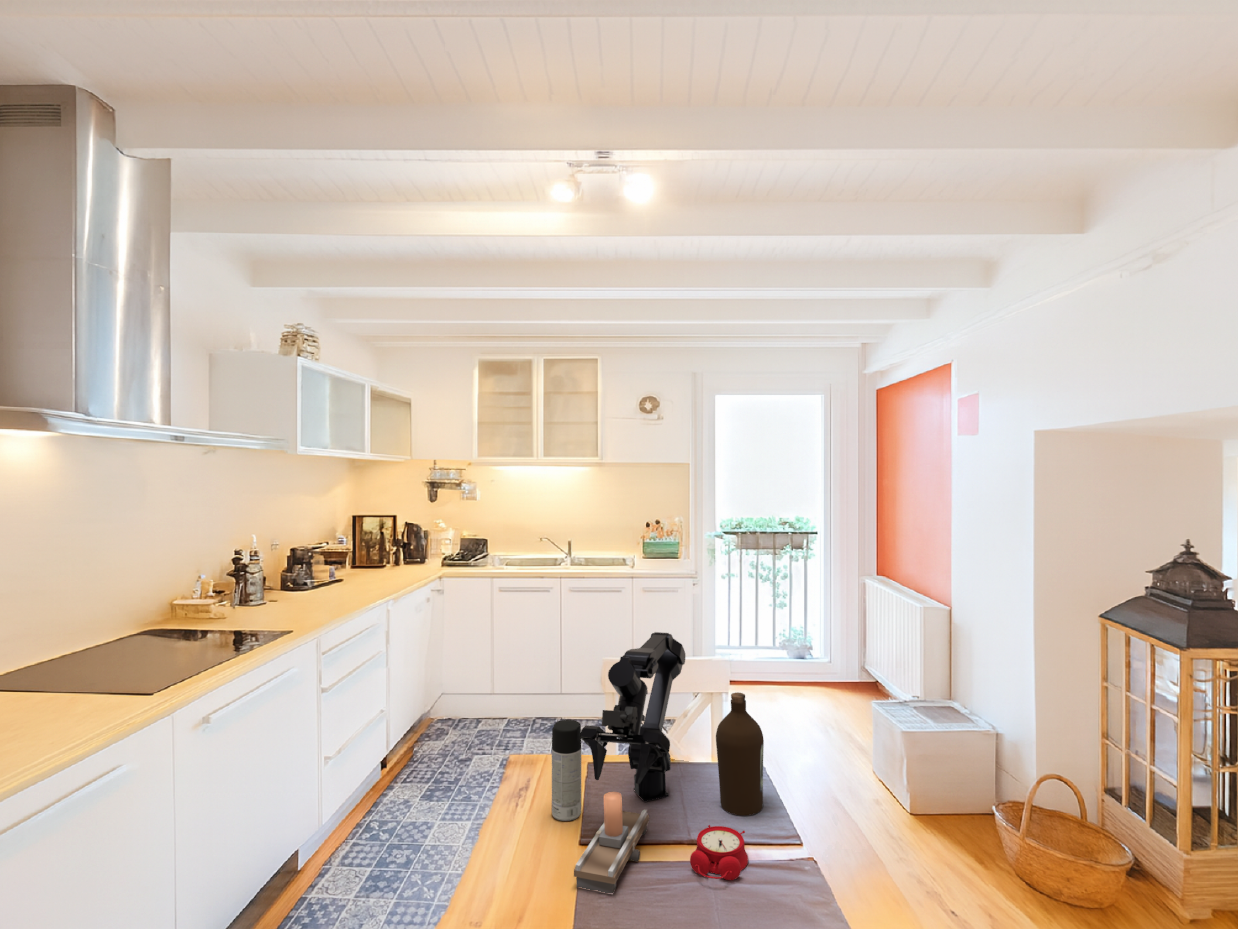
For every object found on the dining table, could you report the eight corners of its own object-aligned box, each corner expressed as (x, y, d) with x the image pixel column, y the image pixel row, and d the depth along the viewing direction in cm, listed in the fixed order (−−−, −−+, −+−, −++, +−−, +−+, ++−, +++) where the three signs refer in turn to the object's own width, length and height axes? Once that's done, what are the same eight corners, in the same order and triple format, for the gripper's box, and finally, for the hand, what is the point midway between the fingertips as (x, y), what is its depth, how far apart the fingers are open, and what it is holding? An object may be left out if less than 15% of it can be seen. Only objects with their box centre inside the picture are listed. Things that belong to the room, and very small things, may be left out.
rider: (607, 831, 133) (606, 788, 133) (628, 834, 131) (627, 791, 131) (599, 845, 128) (597, 801, 128) (620, 848, 126) (618, 804, 126)
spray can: (584, 808, 148) (584, 720, 149) (576, 824, 142) (576, 731, 142) (556, 805, 150) (556, 717, 150) (547, 820, 143) (547, 729, 143)
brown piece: (609, 823, 141) (609, 803, 142) (654, 831, 138) (653, 810, 138) (569, 886, 121) (568, 863, 121) (620, 896, 117) (619, 872, 117)
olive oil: (722, 819, 142) (719, 704, 142) (714, 794, 153) (710, 687, 153) (771, 816, 142) (767, 702, 142) (759, 792, 153) (755, 685, 153)
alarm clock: (752, 828, 132) (739, 852, 118) (752, 862, 131) (739, 891, 117) (701, 820, 136) (683, 842, 122) (700, 853, 134) (682, 880, 120)
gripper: (577, 689, 141) (559, 764, 131) (657, 692, 133) (644, 772, 123) (598, 710, 148) (582, 782, 139) (675, 714, 140) (664, 791, 131)
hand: (616, 781), depth 133 cm, fingers open, 9 cm apart
